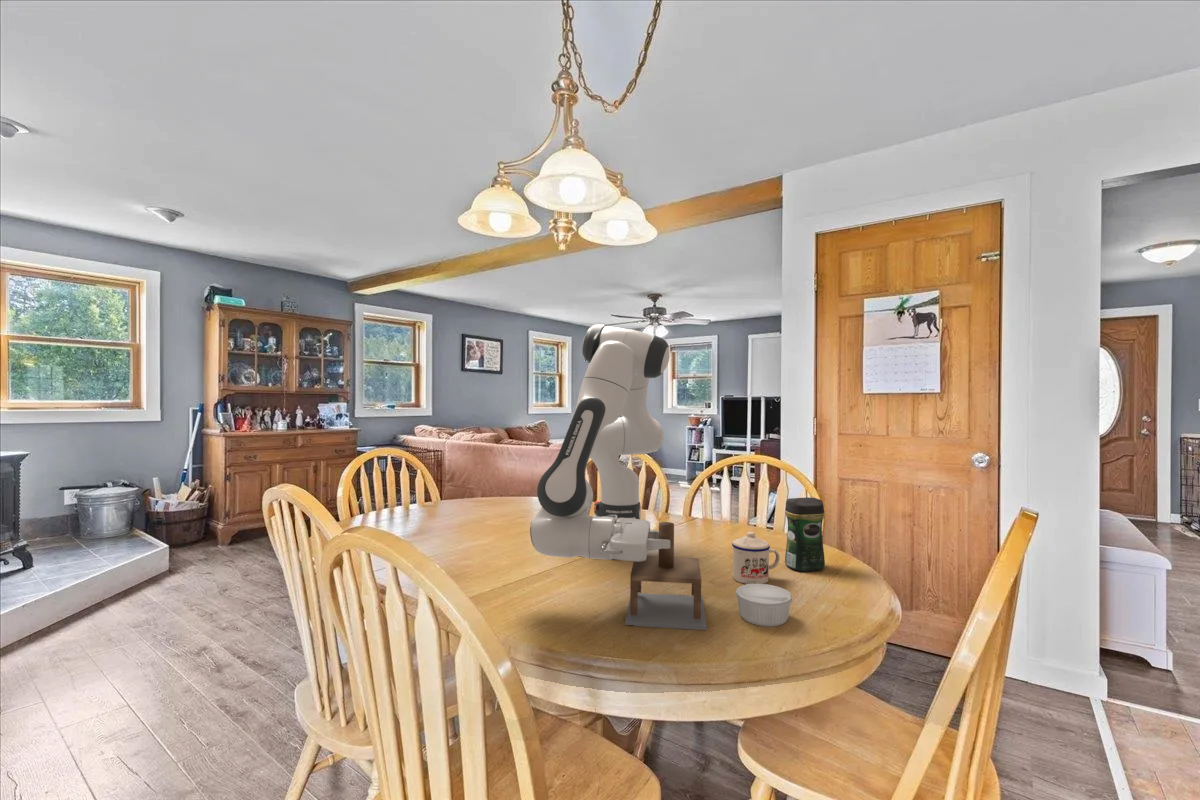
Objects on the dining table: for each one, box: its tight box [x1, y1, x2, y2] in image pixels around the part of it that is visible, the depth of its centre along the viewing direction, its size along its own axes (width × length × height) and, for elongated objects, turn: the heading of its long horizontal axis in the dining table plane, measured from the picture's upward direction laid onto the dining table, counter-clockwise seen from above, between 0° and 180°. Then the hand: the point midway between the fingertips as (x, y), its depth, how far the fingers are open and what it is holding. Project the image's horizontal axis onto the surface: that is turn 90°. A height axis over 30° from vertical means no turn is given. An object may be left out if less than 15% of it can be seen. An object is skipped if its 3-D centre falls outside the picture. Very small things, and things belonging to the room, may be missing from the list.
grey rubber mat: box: [624, 592, 708, 631], centre depth 118 cm, size 16×16×1 cm
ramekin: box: [735, 583, 793, 627], centre depth 115 cm, size 11×11×5 cm
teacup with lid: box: [731, 531, 781, 585], centre depth 139 cm, size 12×9×12 cm
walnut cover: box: [629, 521, 702, 619], centre depth 118 cm, size 14×14×17 cm
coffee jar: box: [784, 497, 826, 572], centre depth 148 cm, size 10×8×19 cm
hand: (670, 540), depth 118 cm, fingers open, 3 cm apart
